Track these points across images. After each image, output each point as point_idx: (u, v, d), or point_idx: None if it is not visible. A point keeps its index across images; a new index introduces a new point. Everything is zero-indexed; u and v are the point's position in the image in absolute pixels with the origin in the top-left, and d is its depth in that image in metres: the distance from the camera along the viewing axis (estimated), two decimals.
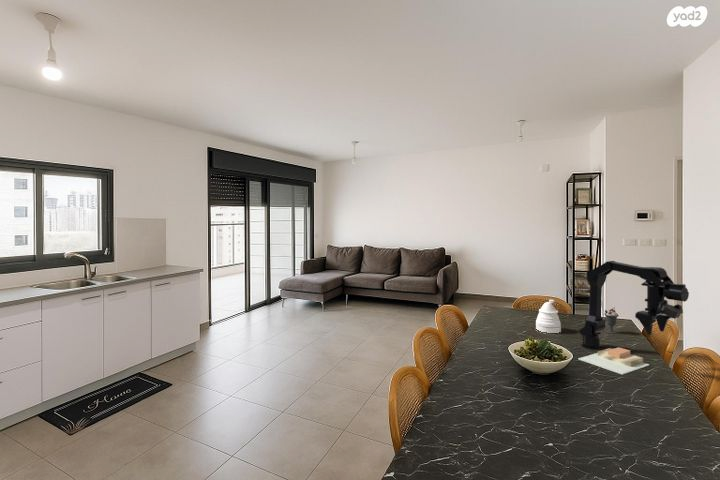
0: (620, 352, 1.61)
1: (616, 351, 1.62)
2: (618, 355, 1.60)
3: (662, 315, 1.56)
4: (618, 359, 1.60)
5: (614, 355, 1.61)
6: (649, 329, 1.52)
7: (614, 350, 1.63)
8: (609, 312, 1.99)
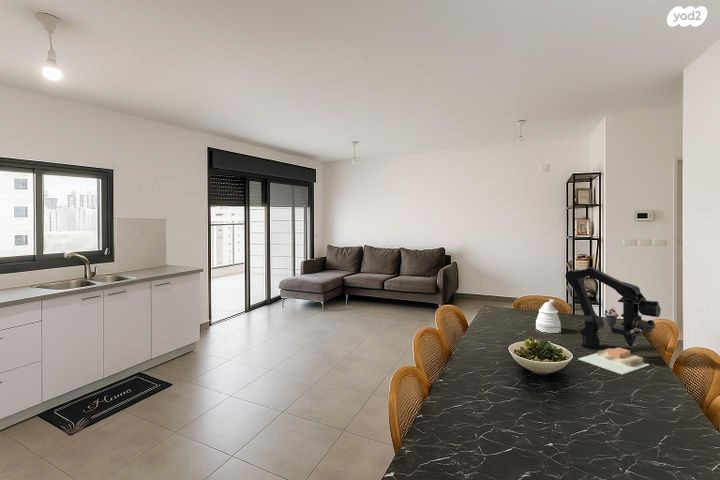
0: (620, 352, 1.61)
1: (616, 351, 1.62)
2: (618, 355, 1.60)
3: None
4: (618, 359, 1.60)
5: (614, 355, 1.61)
6: (630, 341, 1.66)
7: (614, 350, 1.63)
8: (609, 312, 1.99)
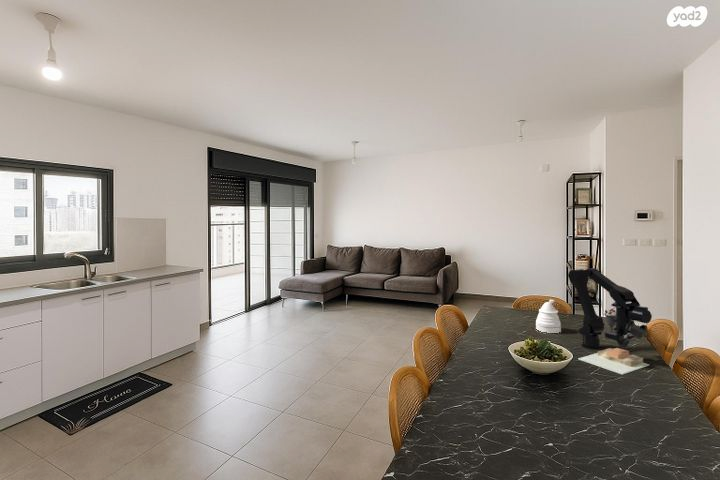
0: (619, 353, 1.60)
1: (615, 352, 1.61)
2: (617, 356, 1.59)
3: None
4: (618, 359, 1.60)
5: (612, 356, 1.61)
6: (623, 346, 1.63)
7: (613, 351, 1.63)
8: (609, 312, 1.99)
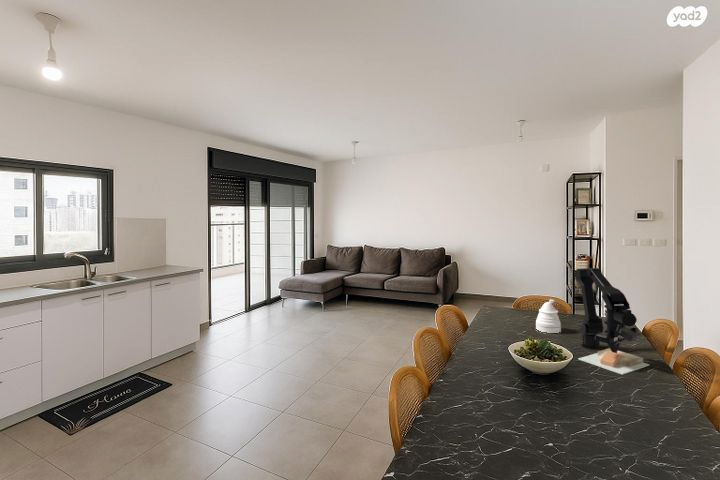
0: (612, 359, 1.57)
1: (609, 360, 1.57)
2: (612, 364, 1.55)
3: None
4: None
5: (607, 364, 1.57)
6: (614, 349, 1.61)
7: (606, 358, 1.59)
8: None
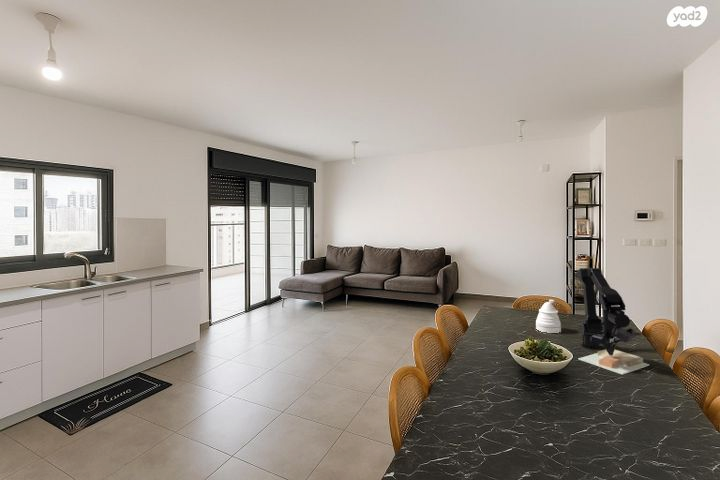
0: (611, 361, 1.56)
1: (608, 361, 1.57)
2: (610, 365, 1.55)
3: None
4: None
5: (606, 365, 1.56)
6: (610, 350, 1.60)
7: (605, 359, 1.59)
8: None
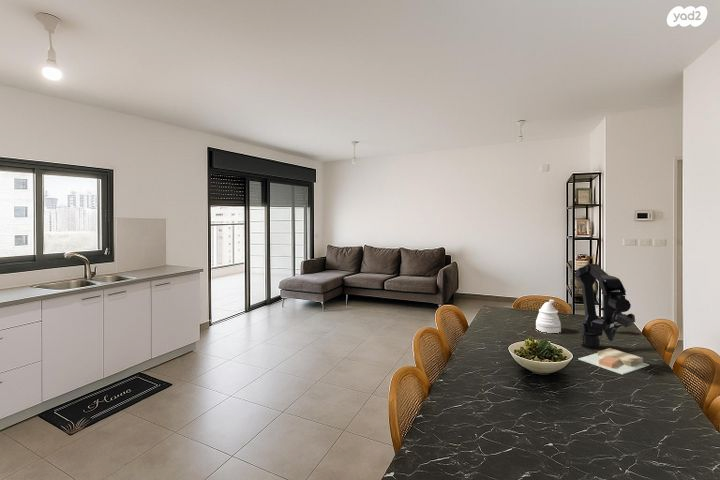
0: (611, 361, 1.56)
1: (608, 361, 1.57)
2: (610, 365, 1.55)
3: None
4: None
5: (606, 365, 1.56)
6: (610, 335, 1.60)
7: (605, 359, 1.59)
8: None
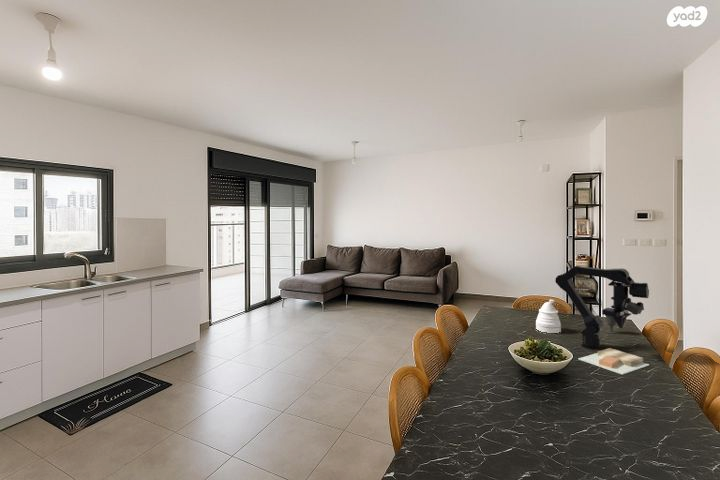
0: (611, 361, 1.56)
1: (608, 361, 1.57)
2: (610, 365, 1.55)
3: None
4: None
5: (606, 365, 1.56)
6: (620, 323, 1.70)
7: (605, 359, 1.59)
8: None
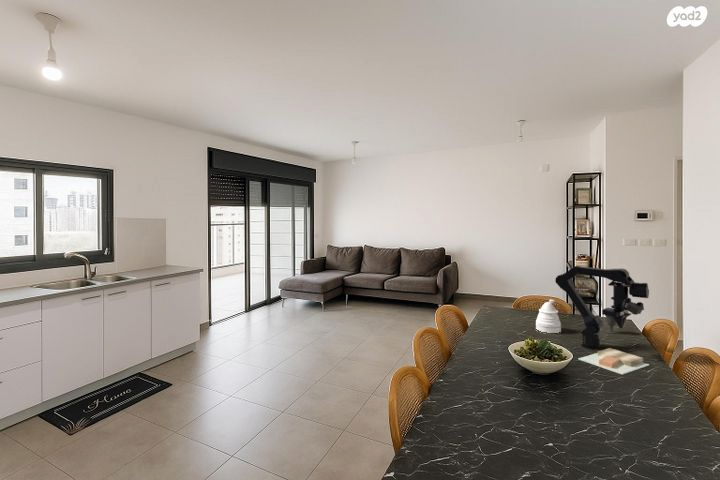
0: (611, 361, 1.56)
1: (608, 361, 1.57)
2: (610, 365, 1.55)
3: None
4: None
5: (606, 365, 1.56)
6: (620, 323, 1.70)
7: (605, 359, 1.59)
8: None
